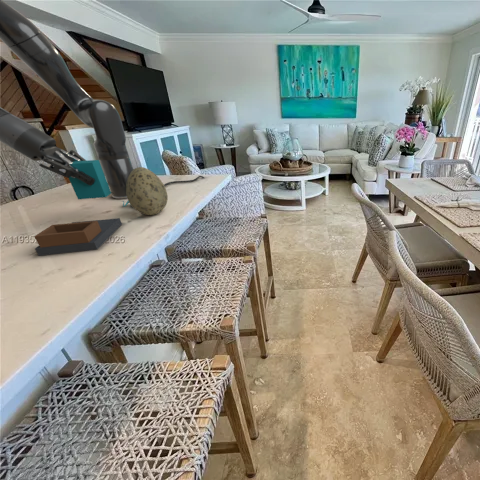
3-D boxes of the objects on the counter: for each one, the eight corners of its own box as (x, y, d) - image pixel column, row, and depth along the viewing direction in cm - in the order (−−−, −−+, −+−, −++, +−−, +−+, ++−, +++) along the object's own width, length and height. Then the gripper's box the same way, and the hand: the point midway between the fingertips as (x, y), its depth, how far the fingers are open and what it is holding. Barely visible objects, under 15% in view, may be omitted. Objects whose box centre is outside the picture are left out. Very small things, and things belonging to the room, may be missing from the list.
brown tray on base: (74, 228, 76) (67, 212, 74) (122, 224, 79) (116, 208, 76) (38, 256, 62) (27, 237, 60) (97, 249, 65) (89, 231, 63)
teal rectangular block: (85, 195, 79) (70, 161, 75) (111, 193, 81) (98, 159, 76) (78, 199, 76) (62, 164, 71) (105, 197, 78) (92, 162, 73)
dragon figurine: (113, 208, 87) (135, 197, 88) (113, 195, 91) (135, 184, 92) (129, 220, 93) (150, 209, 93) (129, 207, 97) (149, 196, 97)
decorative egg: (162, 219, 82) (148, 170, 75) (126, 220, 81) (108, 171, 74) (177, 207, 91) (165, 163, 84) (145, 208, 91) (130, 163, 84)
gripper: (11, 129, 62) (92, 177, 70) (48, 124, 74) (114, 166, 82) (-4, 153, 63) (77, 197, 71) (35, 145, 75) (101, 184, 84)
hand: (96, 180), depth 77 cm, fingers closed on teal rectangular block, 4 cm apart
